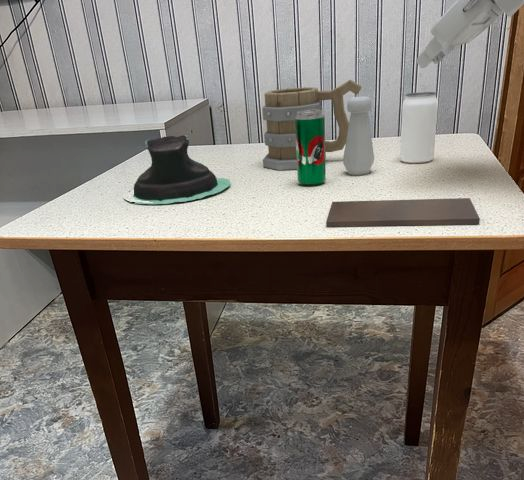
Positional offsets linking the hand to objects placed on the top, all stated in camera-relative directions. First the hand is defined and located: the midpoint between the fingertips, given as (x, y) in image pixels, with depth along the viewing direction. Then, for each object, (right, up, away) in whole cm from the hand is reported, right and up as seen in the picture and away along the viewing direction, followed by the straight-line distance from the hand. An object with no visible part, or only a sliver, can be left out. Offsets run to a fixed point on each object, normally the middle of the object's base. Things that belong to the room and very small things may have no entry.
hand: (426, 62), depth 87 cm
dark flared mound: (-43, -17, +13) cm, 48 cm away
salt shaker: (-9, -13, +14) cm, 21 cm away
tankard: (-16, -8, +25) cm, 31 cm away
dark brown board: (-7, -27, -11) cm, 30 cm away
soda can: (-18, -17, +10) cm, 26 cm away
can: (+4, -9, +19) cm, 22 cm away
